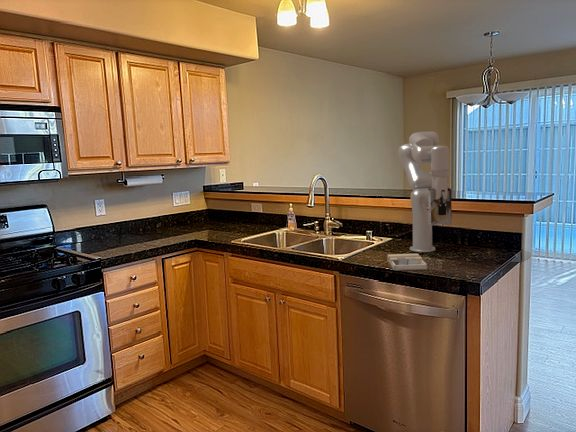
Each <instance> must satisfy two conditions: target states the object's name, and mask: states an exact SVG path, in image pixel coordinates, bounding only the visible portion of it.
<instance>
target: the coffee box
mask: <svg viewBox="0 0 576 432" xmlns="http://www.w3.org/2000/svg"><path fill="white" fill-rule="evenodd" d="M440 199H442V197H441V198H440ZM438 206H439V199H438V200H435V189H432V188H430V189H428V207H427V210H428V211H429V224H430V225H432V226H437V225H438V226H444V225H445V226H446V225H452V224H453V221H452V220H453V218H452V217H453V216H452V210H453V209H452V188H451V187H448V196H447V199H446V215H438Z"/></svg>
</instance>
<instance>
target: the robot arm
mask: <svg viewBox="0 0 576 432" xmlns="http://www.w3.org/2000/svg"><path fill="white" fill-rule="evenodd" d="M439 142H440V138H439V135H438V133H437V132H435V131H418V132H413V133H412V134H411V135H410V136H409V138H408V143H405V144H402V145H401V146H399V148H398V150H397V151H398V153H397V154H398V159H399V163H400V165H401V167H402V168H403V170H404V171H405V175H406V178H407V181H408V185H409V187H410V189H411V190H412V191H411V193H410V204H411V212H412V213H411V214H412V245H411V246H409V250H410V251H411V252H414V253H415V252H416V253H433V252H435V251H436V247H435V246H433V225H430V224H429V210H428V189H430V188H432V189H435V200H438V199H439V206H438V215H446V199H447V196H448V188H449V187H448V178H450V149H449V147H448V146H447V145H439ZM424 163H425V164H426V163H427V164H428V163H430V171H429V172H425V171H424V170H423V167H422V166H421V164H424ZM441 197H442V199H440V198H441Z"/></svg>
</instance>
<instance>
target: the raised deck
mask: <svg viewBox="0 0 576 432" xmlns="http://www.w3.org/2000/svg"><path fill="white" fill-rule="evenodd" d="M397 258H406V259H407V258H416V260H417V264H421V260H423V259H424V258H423V257H422V256H421V255H420V254H419V252H416V253H394V254H392V253H391V254H389V253H388V254H387V263H388V264H389V265H390V266H391V261H393V262H394V263H395V265H397ZM423 261H424V260H423Z"/></svg>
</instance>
